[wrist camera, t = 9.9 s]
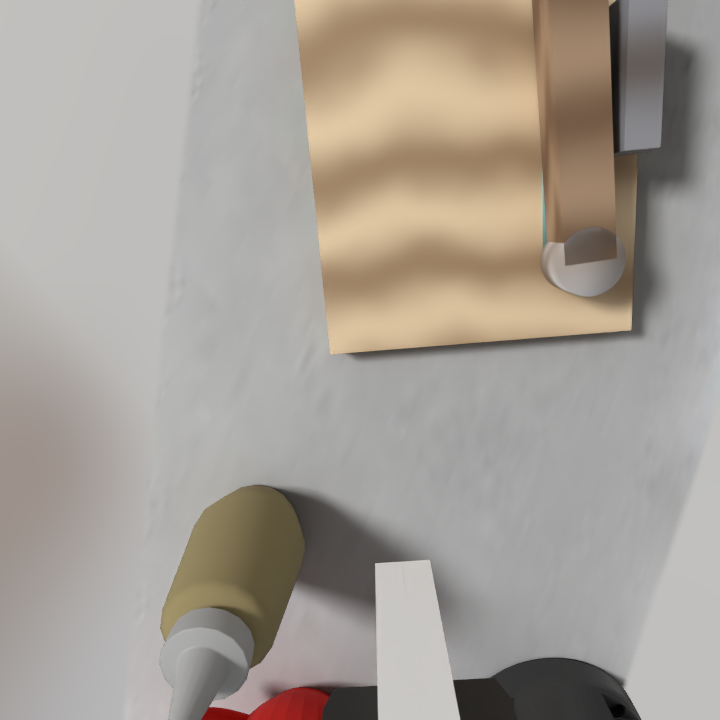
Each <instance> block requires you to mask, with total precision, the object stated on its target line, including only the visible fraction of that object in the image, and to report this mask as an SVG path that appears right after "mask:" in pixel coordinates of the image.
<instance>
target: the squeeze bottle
mask: <svg viewBox="0 0 720 720" xmlns="http://www.w3.org/2000/svg"><path fill="white" fill-rule="evenodd" d="M305 546H306V545H305V541H304V538H303V534H302V530H301V526H300V524H299V521H298V518H297V516H296V513H295V511H294V508H293V506H292V505H291V503H290V502H289V501H288V500H287V498H286V497H285V496H284V495H283V494H281V493H280V492H278V491H276V490H274V489H273V488H271V487H266V486H260V485H252V486H247V487H242V488H240V489H238V490H236V491H234V492H232V493H231V494H229V495H227V496H225V497H223V498H222V499H220V500H219V501H217V502H216V503H214V504H212V505H211V506H209V507H208V508H206V509H205V510H204V512H203V513H202V515H201V516H200V518H199V519H198V521H197V523H196V524H195V526H194V528H193V531H192V533H191V536H190V539H189V541H188V544H187V546H186V549H185V552H184V554H183V557H182V560H181V562H180V565H179V567H178V570H177V573H176V575H175V578H174V581H173V583H172V586H171V588H170V591H169V594H168V596H167V599H166V602H165V604H164V607H163V609H162V618H161V627H160V629H161V632H162V635H163V637H164V640H165V643H164V645H163V647H162V649H161V655H160V664H159V665H160V668H161V670H162V673H163V676H164V679H165V680H166V681H167V682H168V683H169V684H170V685H171V686H172V688H173V693H172V699H171V705H170V711H169V718H168V720H201V719H202V717H203V716H204V714H205V713H206V711H207V709H208V708H209V706H210V704H211V703H212V701H214V700H220V699H225V698H226V697H228V696H230V695H232V694H233V693H235V692H237V691H238V690H239V689H240V687H241V686H242V685H243V683H244V682H245V681H246V679H247V676H248V672H249V669H250V668H252V667H254V666H255V665H257V664H259V663H261V661H262V660H263V659H264V657H265V656H266V654H267V653H268V652H269V650H270V649H271V648H272V645H273V643H274V640H275V637H276V635H277V632H278V629H279V626H280V624H281V621H282V618H283V615H284V613H285V610H286V607H287V604H288V602H289V599H290V596H291V594H292V591H293V588H294V585H295V583H296V580H297V577H298V574H299V572H300V569H301V566H302V562H303V557H304V551H305Z"/></svg>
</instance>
